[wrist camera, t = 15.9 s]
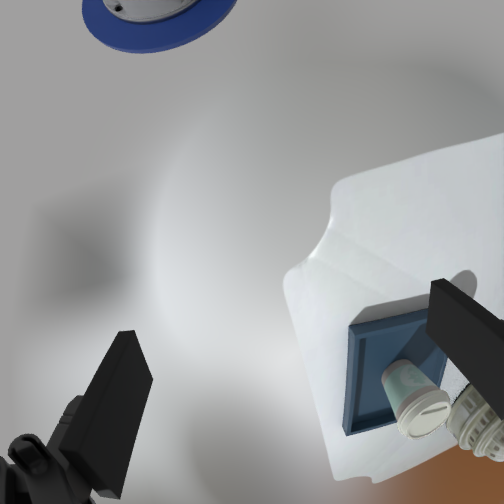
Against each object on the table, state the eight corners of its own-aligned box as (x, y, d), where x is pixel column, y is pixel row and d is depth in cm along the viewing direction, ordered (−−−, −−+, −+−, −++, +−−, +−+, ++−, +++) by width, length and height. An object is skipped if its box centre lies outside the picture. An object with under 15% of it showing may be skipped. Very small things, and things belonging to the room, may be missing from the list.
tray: (348, 325, 42) (354, 335, 39) (448, 302, 42) (457, 309, 40) (342, 426, 48) (346, 436, 45) (427, 401, 48) (432, 409, 46)
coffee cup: (427, 363, 44) (463, 406, 33) (393, 398, 46) (421, 446, 35) (400, 343, 43) (438, 391, 31) (363, 383, 44) (390, 436, 33)
